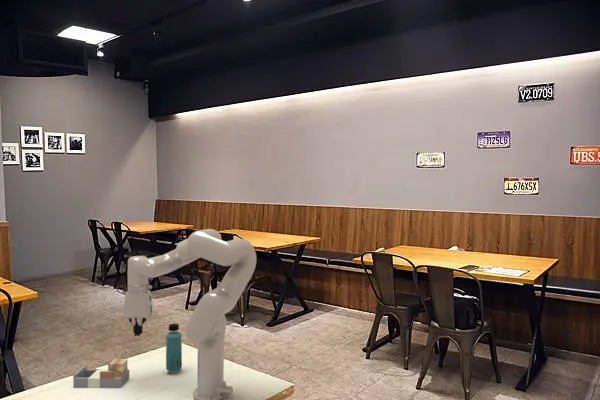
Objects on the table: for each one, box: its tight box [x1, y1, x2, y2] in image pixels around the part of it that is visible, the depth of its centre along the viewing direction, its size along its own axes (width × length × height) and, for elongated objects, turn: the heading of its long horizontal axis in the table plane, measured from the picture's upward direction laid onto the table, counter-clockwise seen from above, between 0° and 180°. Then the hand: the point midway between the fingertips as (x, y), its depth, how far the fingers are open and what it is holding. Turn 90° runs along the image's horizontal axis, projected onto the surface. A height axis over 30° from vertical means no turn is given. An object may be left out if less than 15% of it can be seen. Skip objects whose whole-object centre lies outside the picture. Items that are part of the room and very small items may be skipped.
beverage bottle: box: [165, 323, 183, 373], centre depth 192 cm, size 6×7×20 cm
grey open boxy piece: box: [72, 362, 130, 389], centre depth 181 cm, size 18×9×6 cm, turn 91°
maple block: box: [109, 358, 128, 377], centre depth 181 cm, size 5×5×5 cm
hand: (137, 334), depth 181 cm, fingers closed
